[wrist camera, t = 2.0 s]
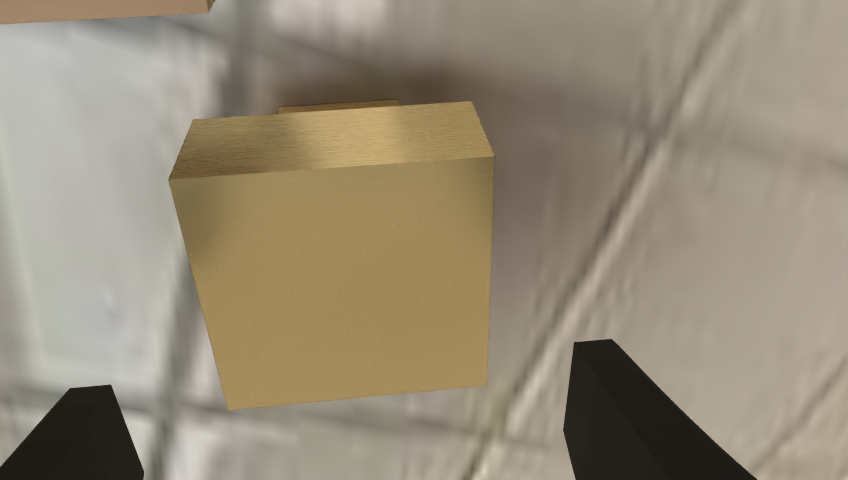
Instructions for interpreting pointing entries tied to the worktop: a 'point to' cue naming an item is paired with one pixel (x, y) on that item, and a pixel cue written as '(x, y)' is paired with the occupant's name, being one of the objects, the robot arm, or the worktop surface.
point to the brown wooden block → (94, 9)
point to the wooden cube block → (340, 248)
